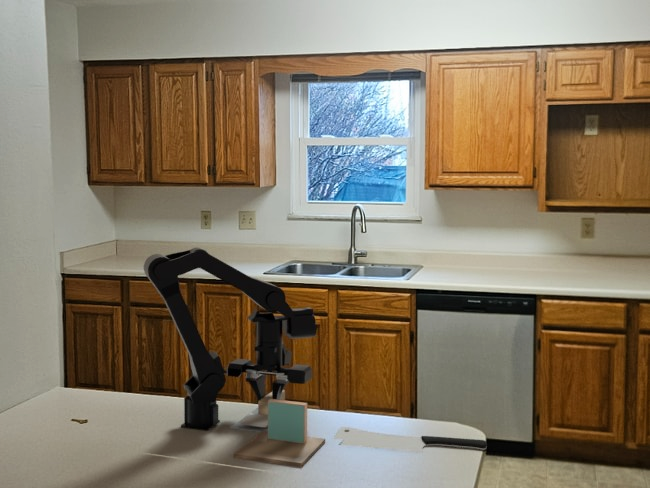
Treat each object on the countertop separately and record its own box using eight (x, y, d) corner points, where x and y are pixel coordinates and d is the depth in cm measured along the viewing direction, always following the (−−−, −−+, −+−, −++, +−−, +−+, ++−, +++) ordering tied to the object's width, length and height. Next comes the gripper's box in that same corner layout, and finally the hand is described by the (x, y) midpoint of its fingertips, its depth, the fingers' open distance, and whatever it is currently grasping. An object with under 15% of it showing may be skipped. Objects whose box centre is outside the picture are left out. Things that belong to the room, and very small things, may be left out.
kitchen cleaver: (329, 444, 159) (338, 423, 168) (329, 452, 159) (338, 430, 168) (486, 458, 152) (486, 435, 162) (485, 466, 152) (486, 443, 162)
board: (233, 458, 152) (233, 453, 151) (262, 435, 165) (262, 430, 165) (301, 468, 147) (301, 463, 147) (325, 443, 160) (325, 438, 160)
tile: (267, 439, 160) (267, 401, 159) (270, 436, 161) (270, 398, 160) (304, 444, 157) (304, 405, 156) (306, 441, 159) (307, 403, 158)
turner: (239, 424, 168) (239, 408, 168) (268, 402, 183) (268, 388, 183) (265, 427, 166) (265, 411, 166) (292, 405, 181) (292, 391, 181)
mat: (229, 429, 168) (229, 427, 168) (260, 406, 184) (260, 405, 184) (272, 434, 165) (272, 433, 165) (300, 411, 181) (300, 409, 181)
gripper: (320, 336, 179) (320, 402, 180) (246, 329, 185) (245, 394, 186) (304, 346, 168) (303, 417, 170) (225, 339, 174) (225, 407, 176)
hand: (269, 408), depth 176 cm, fingers closed on turner, 2 cm apart
